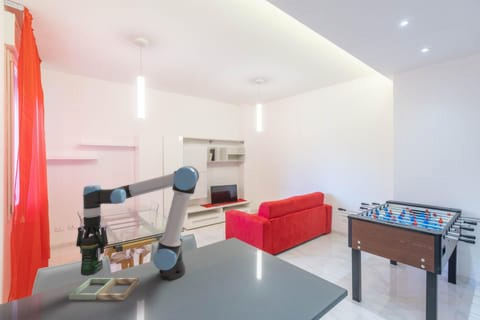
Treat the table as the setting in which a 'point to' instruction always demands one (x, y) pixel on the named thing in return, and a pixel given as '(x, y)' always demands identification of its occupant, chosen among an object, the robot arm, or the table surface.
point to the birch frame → (104, 296)
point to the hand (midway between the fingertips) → (92, 259)
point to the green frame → (89, 296)
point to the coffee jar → (90, 256)
